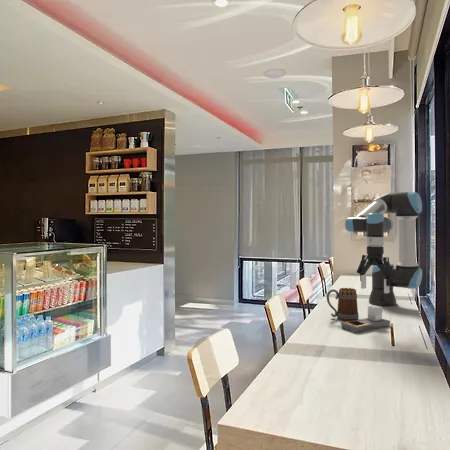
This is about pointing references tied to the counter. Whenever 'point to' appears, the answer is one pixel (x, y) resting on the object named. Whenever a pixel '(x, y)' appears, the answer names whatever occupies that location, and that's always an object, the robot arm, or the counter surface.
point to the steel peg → (374, 313)
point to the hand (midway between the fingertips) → (374, 290)
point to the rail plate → (364, 325)
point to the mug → (345, 304)
